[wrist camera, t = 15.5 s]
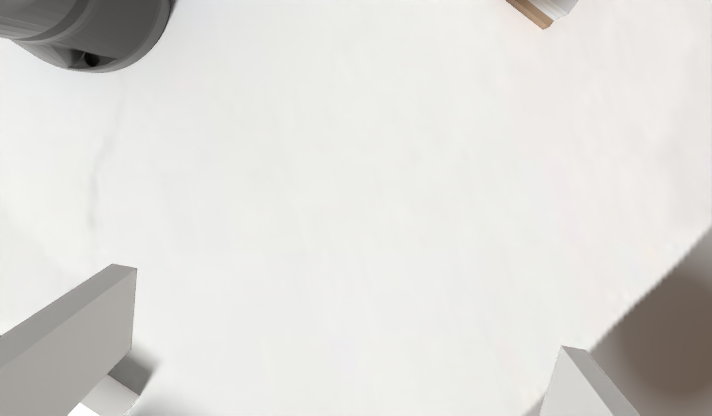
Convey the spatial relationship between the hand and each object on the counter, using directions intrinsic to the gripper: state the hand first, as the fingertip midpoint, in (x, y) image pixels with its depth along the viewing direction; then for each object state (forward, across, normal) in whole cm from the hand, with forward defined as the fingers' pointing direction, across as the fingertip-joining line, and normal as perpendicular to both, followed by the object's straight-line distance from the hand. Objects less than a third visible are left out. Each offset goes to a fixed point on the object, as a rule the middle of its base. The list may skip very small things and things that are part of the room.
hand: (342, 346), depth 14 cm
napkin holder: (+32, -25, -27) cm, 48 cm away
